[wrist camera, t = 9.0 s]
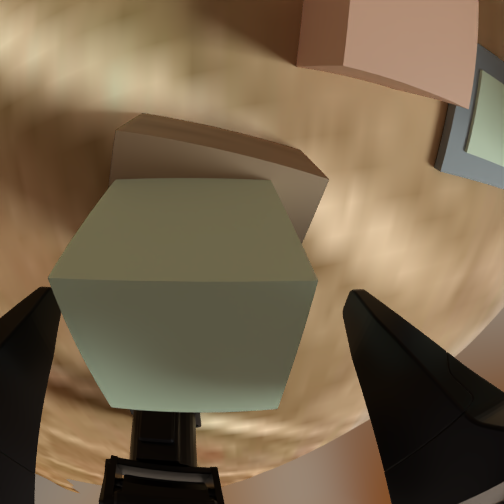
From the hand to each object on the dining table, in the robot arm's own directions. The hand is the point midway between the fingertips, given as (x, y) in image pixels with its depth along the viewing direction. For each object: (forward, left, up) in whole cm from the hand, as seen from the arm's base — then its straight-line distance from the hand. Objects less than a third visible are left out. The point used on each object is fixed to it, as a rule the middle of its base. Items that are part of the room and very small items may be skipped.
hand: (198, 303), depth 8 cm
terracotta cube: (+9, -6, -7) cm, 13 cm away
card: (+7, -16, -6) cm, 19 cm away
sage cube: (0, 0, -3) cm, 3 cm away
